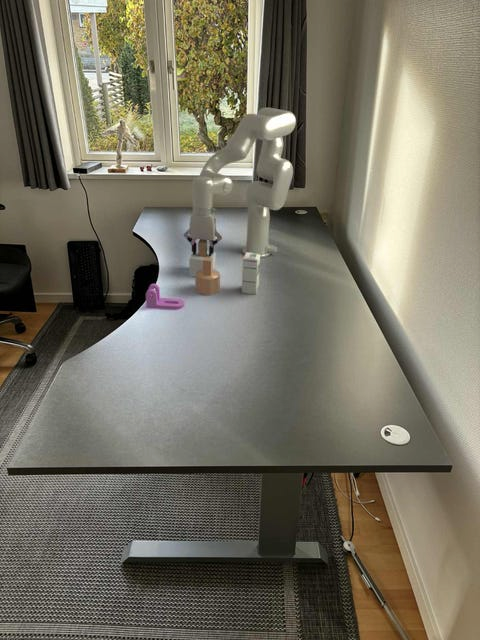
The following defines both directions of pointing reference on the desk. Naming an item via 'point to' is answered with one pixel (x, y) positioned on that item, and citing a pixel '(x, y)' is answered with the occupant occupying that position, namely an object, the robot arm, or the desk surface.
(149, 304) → the bracket
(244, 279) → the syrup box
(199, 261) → the white block
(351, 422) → the desk surface
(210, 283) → the wooden octagon with knob
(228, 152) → the robot arm
